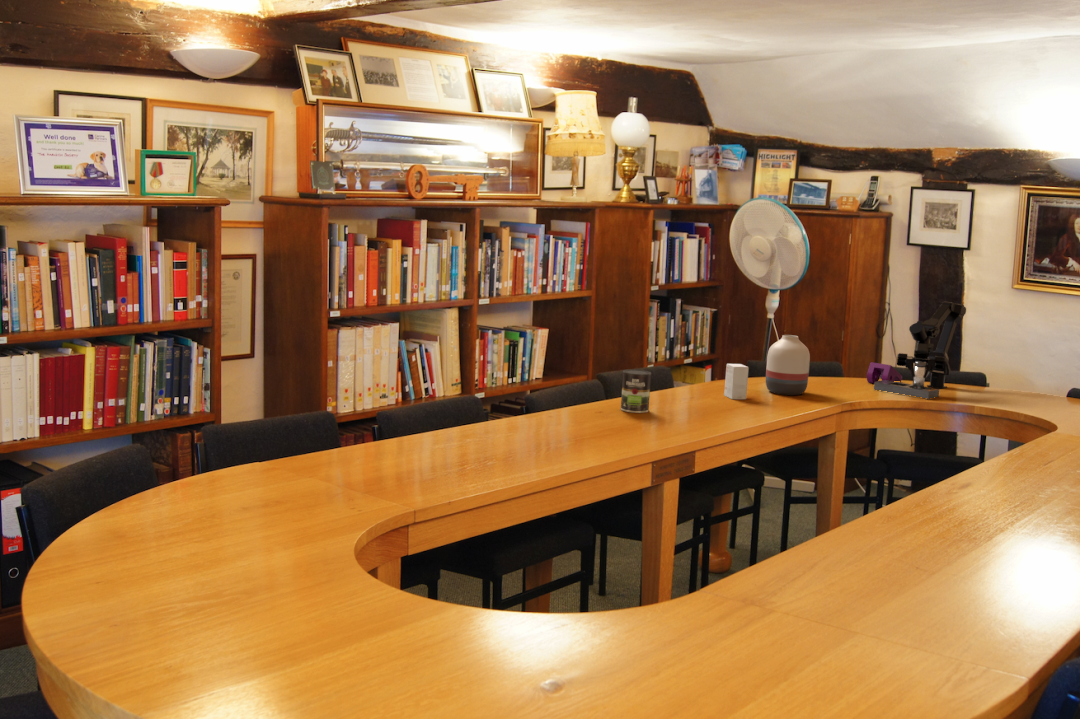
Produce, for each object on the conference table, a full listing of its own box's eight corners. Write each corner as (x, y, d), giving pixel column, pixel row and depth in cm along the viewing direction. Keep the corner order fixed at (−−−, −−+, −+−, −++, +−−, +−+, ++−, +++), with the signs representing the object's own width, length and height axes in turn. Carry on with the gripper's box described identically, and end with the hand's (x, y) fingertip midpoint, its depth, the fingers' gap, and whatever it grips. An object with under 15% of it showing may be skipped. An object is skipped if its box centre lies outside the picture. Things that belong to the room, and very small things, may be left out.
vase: (789, 388, 404) (794, 332, 400) (815, 396, 388) (820, 338, 385) (756, 389, 397) (760, 333, 394) (781, 397, 382) (786, 339, 378)
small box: (746, 399, 374) (749, 366, 372) (731, 399, 373) (733, 366, 371) (738, 395, 382) (741, 363, 380) (723, 395, 381) (726, 363, 379)
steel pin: (914, 390, 402) (918, 360, 400) (925, 392, 399) (928, 362, 397) (909, 391, 399) (913, 361, 397) (920, 393, 396) (923, 362, 394)
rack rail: (884, 387, 415) (885, 379, 414) (938, 397, 397) (939, 388, 397) (873, 390, 408) (874, 381, 408) (928, 399, 391) (929, 390, 390)
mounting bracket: (880, 393, 436) (864, 379, 423) (885, 376, 437) (870, 362, 425) (900, 396, 429) (885, 382, 417) (905, 379, 431) (890, 365, 418)
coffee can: (648, 414, 339) (650, 375, 337) (619, 411, 341) (621, 373, 338) (650, 408, 349) (652, 370, 347) (622, 406, 351) (624, 368, 348)
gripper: (899, 334, 402) (896, 363, 394) (947, 338, 396) (944, 367, 387) (898, 350, 411) (895, 379, 403) (945, 354, 404) (942, 384, 396)
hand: (919, 377), depth 397 cm, fingers closed on steel pin, 4 cm apart
